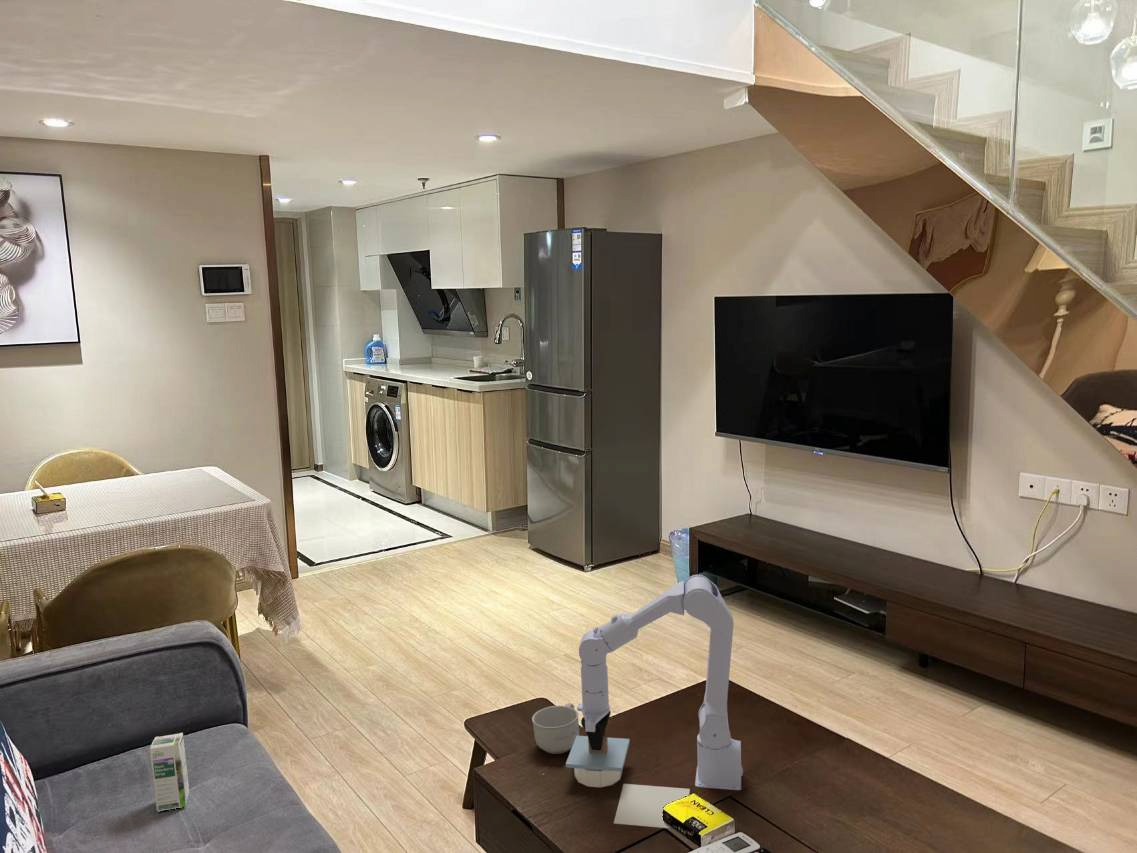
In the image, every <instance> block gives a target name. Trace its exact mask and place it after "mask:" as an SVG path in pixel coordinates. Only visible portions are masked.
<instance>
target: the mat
mask: <svg viewBox="0 0 1137 853" xmlns="http://www.w3.org/2000/svg"><path fill="white" fill-rule="evenodd" d="M690 791H691V790H690V788H683V787H682V788H681V787H671V786H670V787H669V786H659V785H658V786H656V785H645V784H634V783H633V784H632V783H631V784H630V783H623V785H622V789H621V793H620V797H619V800H618V805H617V809H616V812H615V816H614V820H613V824H616V825H628V826H638V827H649V828H660V829H669V828H668V827H667V826H666V825H665V824H664V821H663V817H662V816H663V813H662V812H663V807H664V806H665V805H666V804H668V803H671V802H672V801H675V800H678V799H681V798H683V797H685V796H688V795H689V796H690Z"/></svg>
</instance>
